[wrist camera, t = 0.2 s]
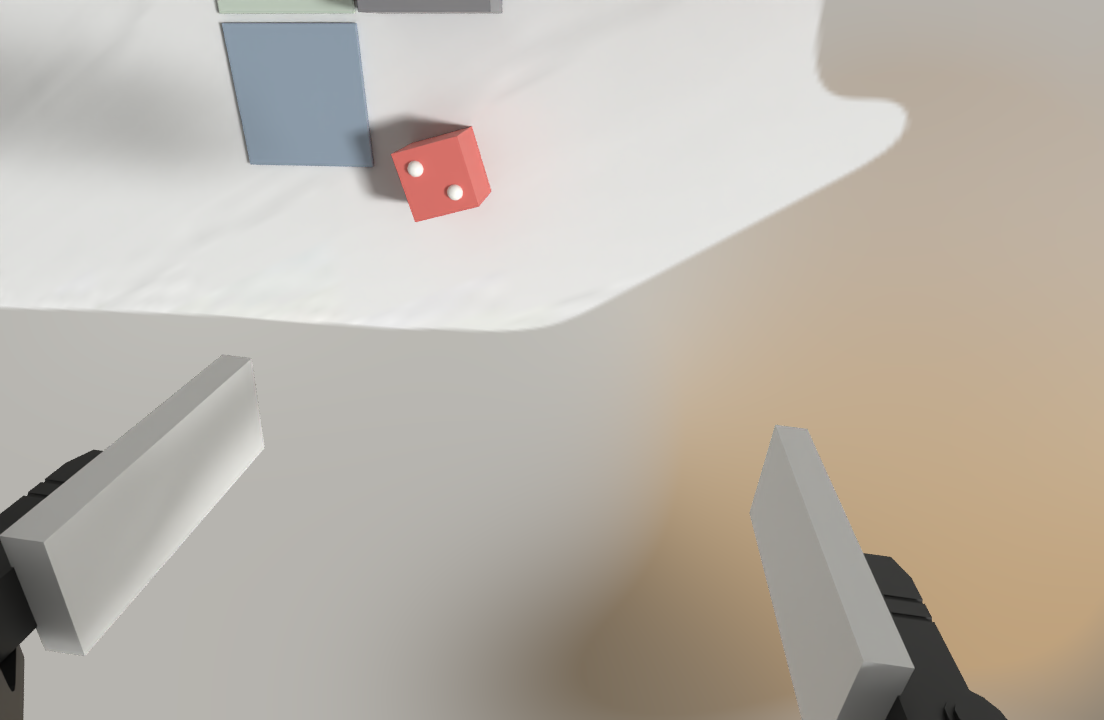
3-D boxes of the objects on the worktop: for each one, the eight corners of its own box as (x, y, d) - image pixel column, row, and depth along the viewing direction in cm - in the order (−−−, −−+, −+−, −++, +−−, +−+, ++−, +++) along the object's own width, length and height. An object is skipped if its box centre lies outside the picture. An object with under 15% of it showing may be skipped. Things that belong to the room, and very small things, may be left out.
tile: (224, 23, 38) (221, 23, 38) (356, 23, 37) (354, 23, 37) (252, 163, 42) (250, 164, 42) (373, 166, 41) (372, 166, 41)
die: (411, 143, 40) (388, 155, 36) (472, 126, 39) (454, 137, 36) (433, 205, 42) (413, 224, 38) (491, 190, 41) (477, 208, 37)
